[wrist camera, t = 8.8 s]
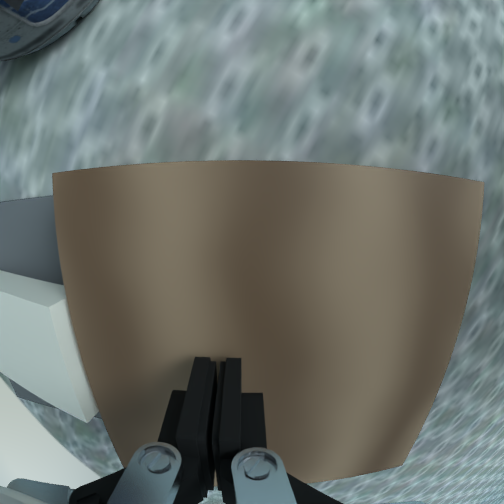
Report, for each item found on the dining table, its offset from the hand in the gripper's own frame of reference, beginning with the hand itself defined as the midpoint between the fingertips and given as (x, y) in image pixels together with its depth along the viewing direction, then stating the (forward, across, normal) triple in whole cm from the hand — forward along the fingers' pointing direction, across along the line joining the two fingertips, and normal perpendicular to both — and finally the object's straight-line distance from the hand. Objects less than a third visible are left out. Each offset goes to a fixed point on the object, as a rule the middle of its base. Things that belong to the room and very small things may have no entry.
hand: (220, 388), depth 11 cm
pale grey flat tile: (+3, +10, 0) cm, 11 cm away
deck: (+4, -2, 0) cm, 5 cm away
